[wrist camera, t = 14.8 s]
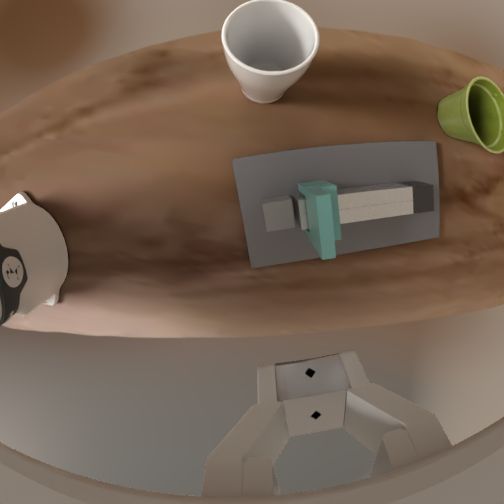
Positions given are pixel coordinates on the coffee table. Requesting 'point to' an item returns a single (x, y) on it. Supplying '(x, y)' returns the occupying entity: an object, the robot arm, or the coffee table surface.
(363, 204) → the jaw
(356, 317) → the coffee table surface
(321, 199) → the collar
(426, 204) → the jaw
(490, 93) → the plant pot
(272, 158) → the plate
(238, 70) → the white cup
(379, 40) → the coffee table surface
